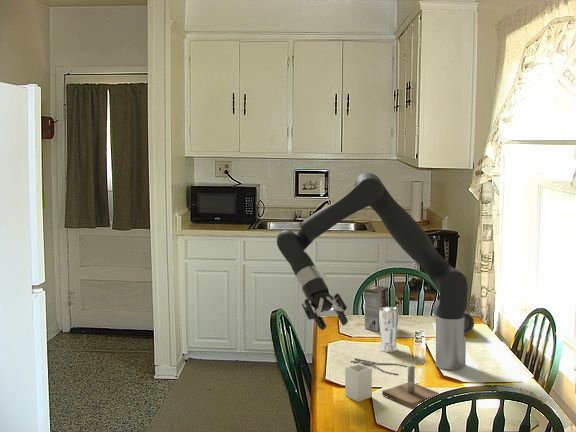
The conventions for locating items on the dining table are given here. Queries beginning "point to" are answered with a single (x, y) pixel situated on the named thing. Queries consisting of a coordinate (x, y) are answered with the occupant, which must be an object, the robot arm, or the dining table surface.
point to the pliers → (378, 364)
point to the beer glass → (388, 328)
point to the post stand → (409, 391)
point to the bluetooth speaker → (467, 319)
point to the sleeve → (358, 382)
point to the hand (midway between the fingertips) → (335, 326)
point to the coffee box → (375, 305)
